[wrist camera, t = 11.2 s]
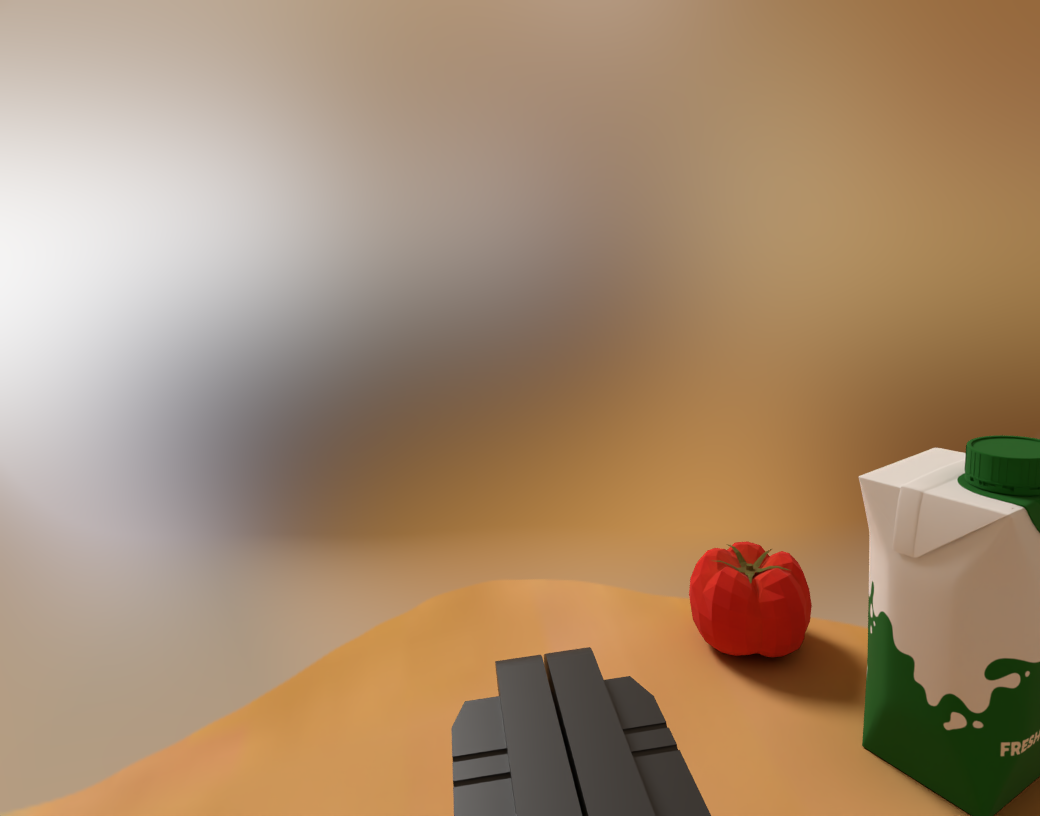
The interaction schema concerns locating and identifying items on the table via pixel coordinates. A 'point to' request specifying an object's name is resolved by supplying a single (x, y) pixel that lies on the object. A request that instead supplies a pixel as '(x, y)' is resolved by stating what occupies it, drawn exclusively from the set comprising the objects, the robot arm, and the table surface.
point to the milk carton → (956, 619)
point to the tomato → (750, 601)
